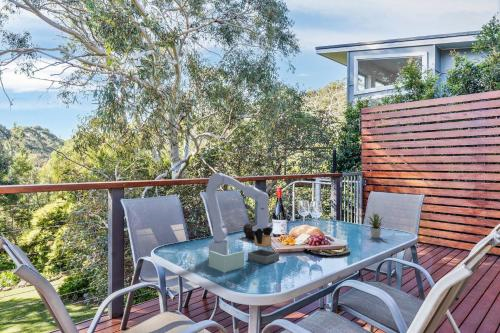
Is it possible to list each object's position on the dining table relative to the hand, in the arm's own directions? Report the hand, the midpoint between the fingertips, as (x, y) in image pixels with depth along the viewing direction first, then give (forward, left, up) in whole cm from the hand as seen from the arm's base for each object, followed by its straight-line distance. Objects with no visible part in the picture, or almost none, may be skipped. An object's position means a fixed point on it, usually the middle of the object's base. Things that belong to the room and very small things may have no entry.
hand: (262, 242), depth 181 cm
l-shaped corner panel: (-21, +6, -9) cm, 23 cm away
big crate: (-1, -1, -8) cm, 8 cm away
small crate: (0, 0, -1) cm, 1 cm away
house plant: (+87, -23, -9) cm, 91 cm away
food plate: (+35, -17, -9) cm, 40 cm away
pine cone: (+31, +33, -9) cm, 46 cm away
